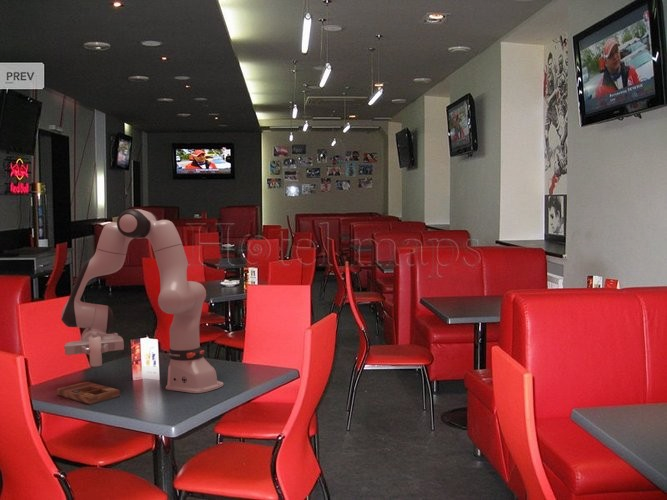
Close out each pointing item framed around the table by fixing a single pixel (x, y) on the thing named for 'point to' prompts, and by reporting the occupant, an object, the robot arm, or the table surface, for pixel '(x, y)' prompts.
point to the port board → (88, 393)
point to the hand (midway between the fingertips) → (95, 350)
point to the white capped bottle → (95, 350)
